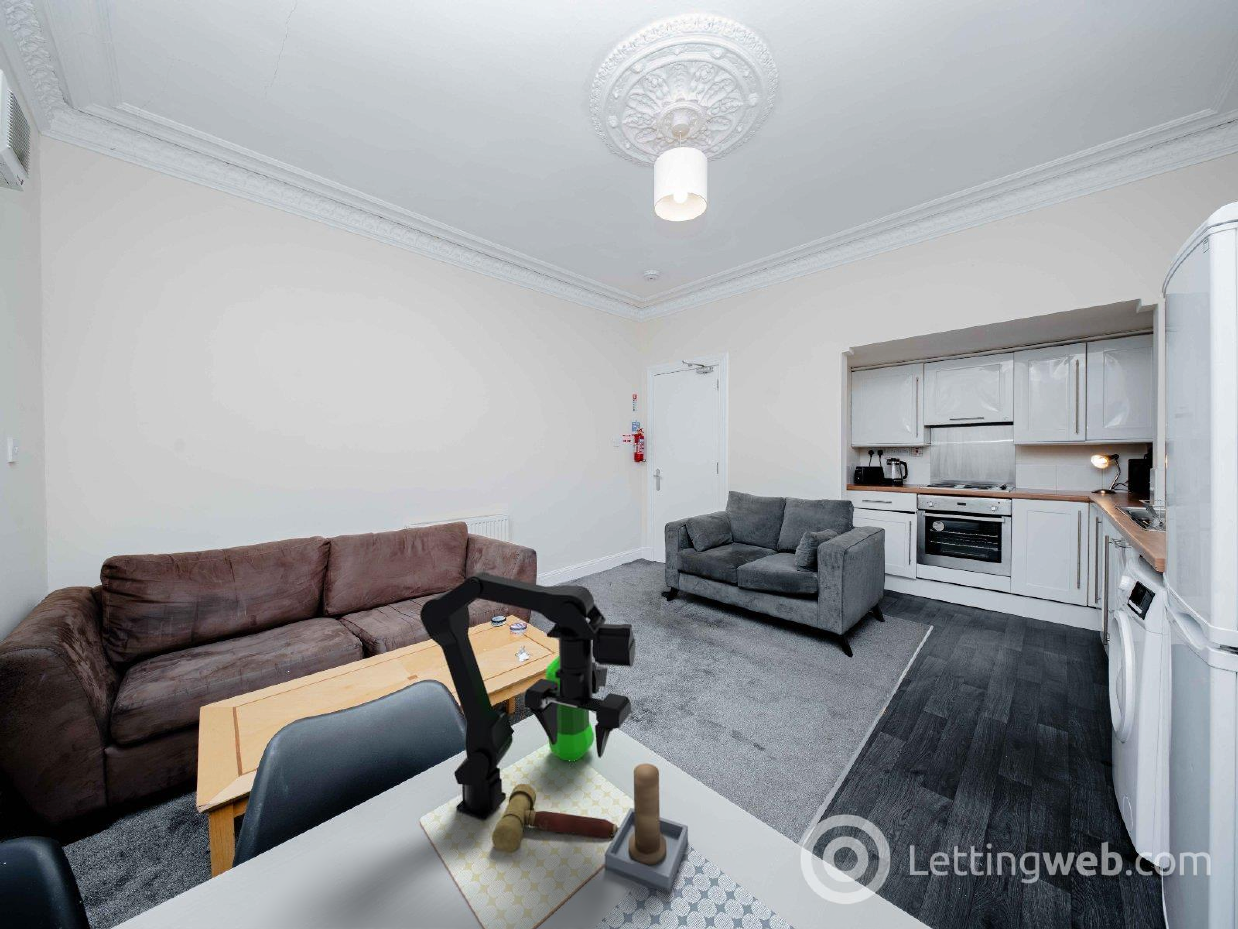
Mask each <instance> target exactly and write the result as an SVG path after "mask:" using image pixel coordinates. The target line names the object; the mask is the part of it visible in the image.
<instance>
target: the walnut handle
mask: <svg viewBox="0 0 1238 929" xmlns="http://www.w3.org/2000/svg"><path fill="white" fill-rule="evenodd" d="M659 770H660V769H659V768H658V767H657V766H656V765H654V764H651V763H642V764H641V763H640V764H637V766H635V768H634V769H633V809H634V824H635V832H634V833H633V834H632V835H631V837H630V839H629V854H630V857H631V858H632V860H633V861H636V862H638V863H641V864H644V865H647V866H654V865H657V864H659V863H660V862H662V861H663V859H664V858H665V856H666V840H665V838H664V836H663V835H662V834H661V833H660V817H661V816H660V815H661V814H660V812H661V811H660V771H659Z"/></svg>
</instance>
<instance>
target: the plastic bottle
mask: <svg viewBox="0 0 1238 929" xmlns="http://www.w3.org/2000/svg"><path fill="white" fill-rule="evenodd" d="M558 669H559V655H558V656H557V657H556V658H555V659H554V660H552V662H551V663H549V665H547V668H546V670H545V679H546V680H550V681H555V682H557V683H558V684H559V690H558V691H560V679H559V678H555V672H556V671H557V670H558ZM557 726H558V737H557V743H556V744H555V745H552V743H551V741H550V740H549V738H548V737H547V738H548V746H549V748H550V750H551V752H552V753H553V754H554V755H555V756H557V757H558V758H559V759H561V758H562V759H563V761H564V760H568V761H567V762H572V761H573V762H575V761H574V760H576V761H578V760H580V759H581V758H582V757H584V756H585V754H586V753H587V752H588V750H590V748H591V747H592V746H593V743H594V740H595V735H594V731H593V727H592V725H591V721H590V710H586V709H582V708H575V707H570V706H566V705H562V704H558V707H557ZM562 759H561V760H562ZM569 760H570V761H569Z"/></svg>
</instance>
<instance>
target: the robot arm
mask: <svg viewBox="0 0 1238 929" xmlns="http://www.w3.org/2000/svg"><path fill="white" fill-rule="evenodd" d="M477 599H478V600H479V599H480V600H484V601H488V602H493V603H497V604H502V605H506V606H509V607H514V608H519V609H522V610H527V611H531V612H536V613H537V614H539V615H541V616H543V618H545V619H547V621H549V622H551V623H553V624H554V626H553V627H551V629H550V630H549V631H548V632H547V633H546V637H547V638H551V639H552V638H553V639H558V656H559V669H558V670H557V671H556V672H555V678H559V679H560V691H558V690H559V684H558V683H557V682H555V681H550V680H546V678H540V679H538V680H537V681H535V682H534V683H533V684H532V685H531V686H529V687H527V689H526V690H525V691H524V694H523V707H525V708H528V709H529V712H530V713H532V714H533V715H534V716H535V718H536V719H537V721H538V722H539V724H540V725H541V727H542V729H543V730H544V732H545V734H546V736H547V738H549V739H548V741H549V740H550V741H551V743H552V745H555V744H556V743H557V737H558V726H557V707H558V704H562V705H566V706H570V707H575V708H582V709H586V710H589V712H590V711H591V712H595V716H596V717H595V720H596V721H597V723H596V724H595V725H594V730H595V744H596V753H597V757H598V758H599V759H600V758H602V757H603V755H604V752H605V749H606V746H607V743H608V740H609V738H610V734H611V732H612V731H613V730H614V729H615V730H616V729H620V728H621V726H622V724H624V722H625V721H626V719H627V718H628V717H629V716H630V714H631V713H632V701H631V700H630V699H629V697H628V696H625V695H622V694H616V693H612V692H609V693H608V694H607V696H605V697H604V698H603V699H600V698H595V697H593V695H595V694H597V693H599V691H600V687H603V688H604V687H605V688H606V684H607V676H608V668H607V667H604V666H613V667H626V668H627V667H628V668H632V667H633V665H634V662H635V654H636V639H635V636H634V632H633V625H632V624H631V623H623V624H613V623H612V624H611V623H610V624H609V623H606V621H607V620H606V619H607V618H605V616H604V615H603V613H602V612H601V610H599V607H597V605H596V604H595V600H594V596H593V594H592V593H591V591H590V589H589V588H587V587H585V586H583V585H564V584H562V585H556V586H555V585H554V586H544V585H540V584H535V583H531V582H526V581H522V580H517V579H514V578H513V579H512V578H508V577H504V576H498V575H494V574H491V573H489V572H486V571H479V572H477V573H475V574H472V575H471V576H468V577H467V578H466V579H465V580H464V581H463V582H462V583H460V584H458V585H457V586H456V587H455V588H453V589H450V590H446V591H445V592H443V593H440V594H439V595H437V596H435V597H432V598H431V599H429V600H427V601H426V602H425V603H423V605H422V608H421V610H420V612H419V616H420V621H421V623H422V625H423V627H424V629H425V631H426V633H427V636H429V638H430V639H431V640H432V641H434V642H435V643H436V644H437V645H438V646H440V648H441V650H442V653H443V656H444V658H445V662H446V664H447V668H448V671H449V674H450V676H451V680H452V682H453V685H454V690H455V692H456V695H457V698H458V701H459V704H460V707H461V709H462V713H463V716H464V719H465V722H466V723H465V724H466V727H465V736H464V738H465V739H464V748H465V753H466V757H465V759H464V760H463V761H462V762H461V764H459V766H458V767H457V768H456V770H454V772H453V774H454V777H455V780H456V783H457V785H461V789H462V790H461V791H462V793H461V794H462V795H461V796H462V800H461V801H460V802H459V803H458V804H457V805H456V807H455V808H456V811H458V812H460V813H463V814H466V815H469V816H471V817H473V818H477V819H479V820H486V819H487V818H488V817H489V816H490V814H491V813H492V812H494V811H495V809H496V808H497V807H498V806H499V805H500V804H501V803H502V801H504V800H505V799H506V797H507V793H506V792H504V791H503V779H502V778H501V769H500V768H499V767H498V765H499V764H500V763H501V761H502V760H503V758H504V757H505V756H506V754H507V753H508V751H509V750H510V748H511V746H512V743H513V734H514V733H515V729H513V727H512V726H511V724H510V719H509V718H510V717H509V714H508V713H507V712H503V713H502V714H500V713H499V712H497V710H495V709H494V708H493V706H492V703H491V700H490V696H489V694H488V691H487V688H486V685H485V682H484V679H483V676H482V672H481V671H480V670H481V669H480V667H479V664H478V661H477V659H476V658H477V657H476V655H475V652H474V649H473V645H472V644H471V641H470V636H469V631H470V630H469V628H470V619H471V617H470V615H471V614H470V611H469V605H471V604H473V603H474V602H475V601H477ZM587 619H589V621H588V620H587ZM593 658H594V662H593V660H592V659H593ZM597 663H598V665H599V666H598V665H597ZM600 665H601V666H600Z"/></svg>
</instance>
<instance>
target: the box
mask: <svg viewBox="0 0 1238 929" xmlns="http://www.w3.org/2000/svg"><path fill="white" fill-rule="evenodd" d="M618 828H619V829H618V831H617V833H616V835H615V836H613V838H612V840H611V842H610V843H609V846H608V847H607V849H606V851H605V853H604V870H605V871H607V872H610V873H612V874H614V875H617V876H620V877H622V878H625V879H628V880H630V881H633V882H636V883H638V884H641V885H643V886H646V887H648V888H650V889H653V890H656V891H659V892H660V893H661V892H662V893H664V894H667V895H670V892H671V889H672V887H673V883H674V881H675V878H676V876H677V872H678V871H679V867H680V864H681V861H682V858H683V856H684V853H685V851H686V847H687V845H688V841H689V833H688V832H689V830H688V829H689V826H688V825H687V824H682V823H680V822H676V821H673V820H670V819H668V818H667V819H666V818H664V817H661V816H660V833H661V834H662V835H663V836H664V838H665V840H666V856H665V858H664V859H663V861H662V862H660V863H659V864H657V865H654V866H647V865H644V864H641V863H638V862H636V861H633V860H632V858H631V857H630V854H629V839H630V837H631V835H632V834H633V833H634V832H635V824H634V808H633V807H630V808H629V810H628V812H627V813H626V815H625V816H624V818H623V821H622V822H621V824H620V826H619V827H618Z"/></svg>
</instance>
